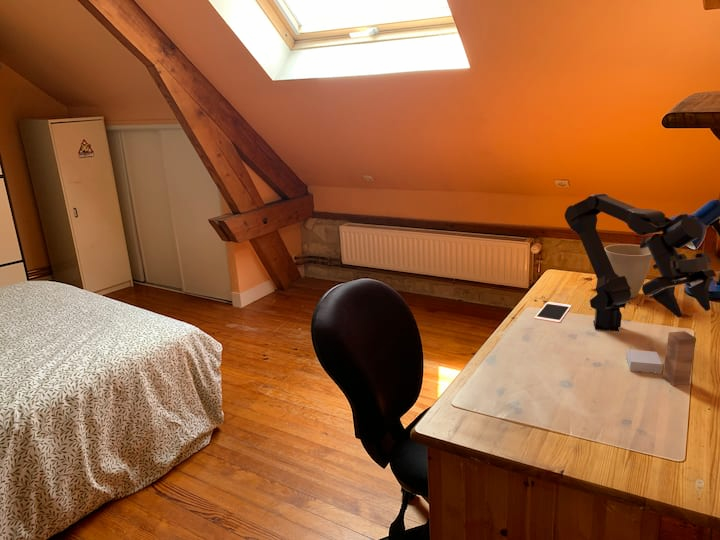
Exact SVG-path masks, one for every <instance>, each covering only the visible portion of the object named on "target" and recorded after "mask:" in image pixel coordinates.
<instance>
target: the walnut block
mask: <svg viewBox="0 0 720 540" xmlns="http://www.w3.org/2000/svg"><path fill="white" fill-rule="evenodd" d="M696 341H697V337H695V336H693V335H692V334H690V333H689V332H687V331H685V330H684V331H683V330H682V331H672V332H671V331H669V332H668V336H667V342H666V351H665V358H664V366H663V373H662V379H663V378H664V379H665V380H664V379H663V380H664V381H666V382H667V383H668V382H669V383H670V386H672V387H679V386H680V387H681V385H682V386H683V387H684V386H690V383H691V377H692V376H691V375H692V368H693V363H694V358H695V357H694V356H695V348H696Z"/></svg>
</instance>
